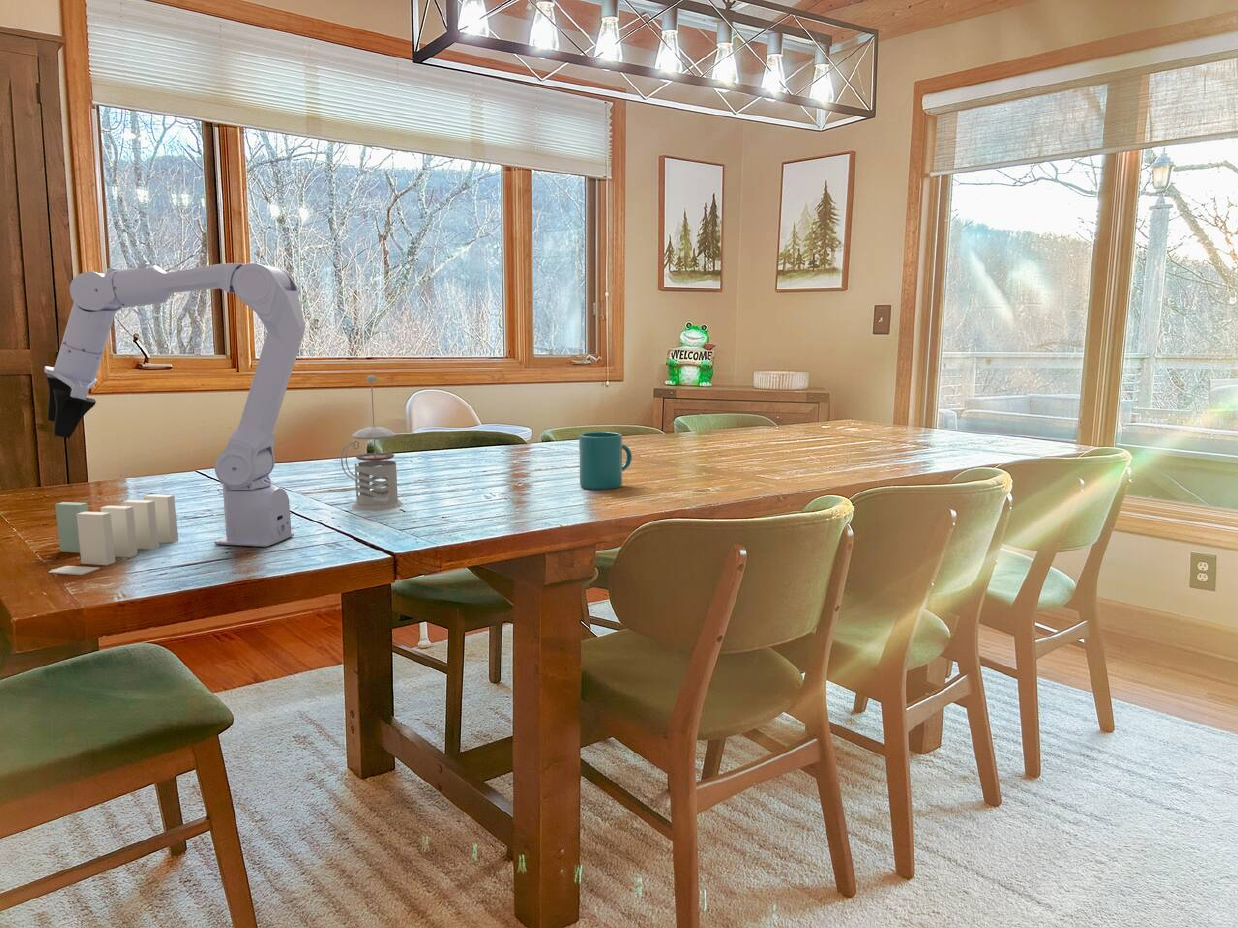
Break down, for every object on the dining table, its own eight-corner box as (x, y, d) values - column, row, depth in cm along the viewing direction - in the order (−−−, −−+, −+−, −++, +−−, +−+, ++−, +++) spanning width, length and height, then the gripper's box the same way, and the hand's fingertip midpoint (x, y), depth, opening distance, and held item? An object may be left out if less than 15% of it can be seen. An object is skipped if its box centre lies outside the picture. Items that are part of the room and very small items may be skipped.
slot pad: (99, 568, 128) (99, 567, 128) (81, 575, 125) (81, 573, 125) (66, 566, 129) (66, 565, 129) (48, 572, 126) (48, 571, 126)
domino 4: (134, 546, 141) (130, 499, 140) (158, 547, 140) (154, 500, 139) (126, 548, 140) (122, 501, 138) (151, 549, 139) (147, 502, 138)
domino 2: (90, 560, 132) (85, 511, 131) (115, 562, 132) (110, 512, 130) (81, 563, 131) (76, 513, 130) (107, 565, 130) (102, 514, 129)
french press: (389, 511, 166) (383, 377, 162) (332, 509, 168) (325, 376, 164) (412, 501, 176) (406, 374, 172) (357, 499, 178) (351, 373, 174)
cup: (641, 486, 190) (641, 434, 188) (592, 492, 184) (591, 438, 182) (620, 480, 198) (620, 430, 196) (572, 485, 192) (571, 433, 190)
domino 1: (68, 548, 140) (63, 501, 138) (92, 550, 139) (87, 503, 138) (60, 551, 138) (55, 503, 137) (84, 552, 137) (79, 505, 136)
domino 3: (112, 553, 137) (108, 505, 136) (137, 554, 136) (133, 506, 135) (105, 555, 135) (100, 507, 134) (129, 557, 134) (125, 508, 133)
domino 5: (154, 539, 145) (150, 494, 144) (178, 540, 145) (174, 495, 143) (147, 541, 144) (143, 496, 143) (171, 542, 143) (167, 497, 142)
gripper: (47, 329, 141) (24, 409, 143) (59, 352, 130) (34, 437, 132) (97, 342, 146) (74, 419, 148) (112, 364, 135) (87, 447, 137)
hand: (58, 428), depth 140 cm, fingers open, 7 cm apart
